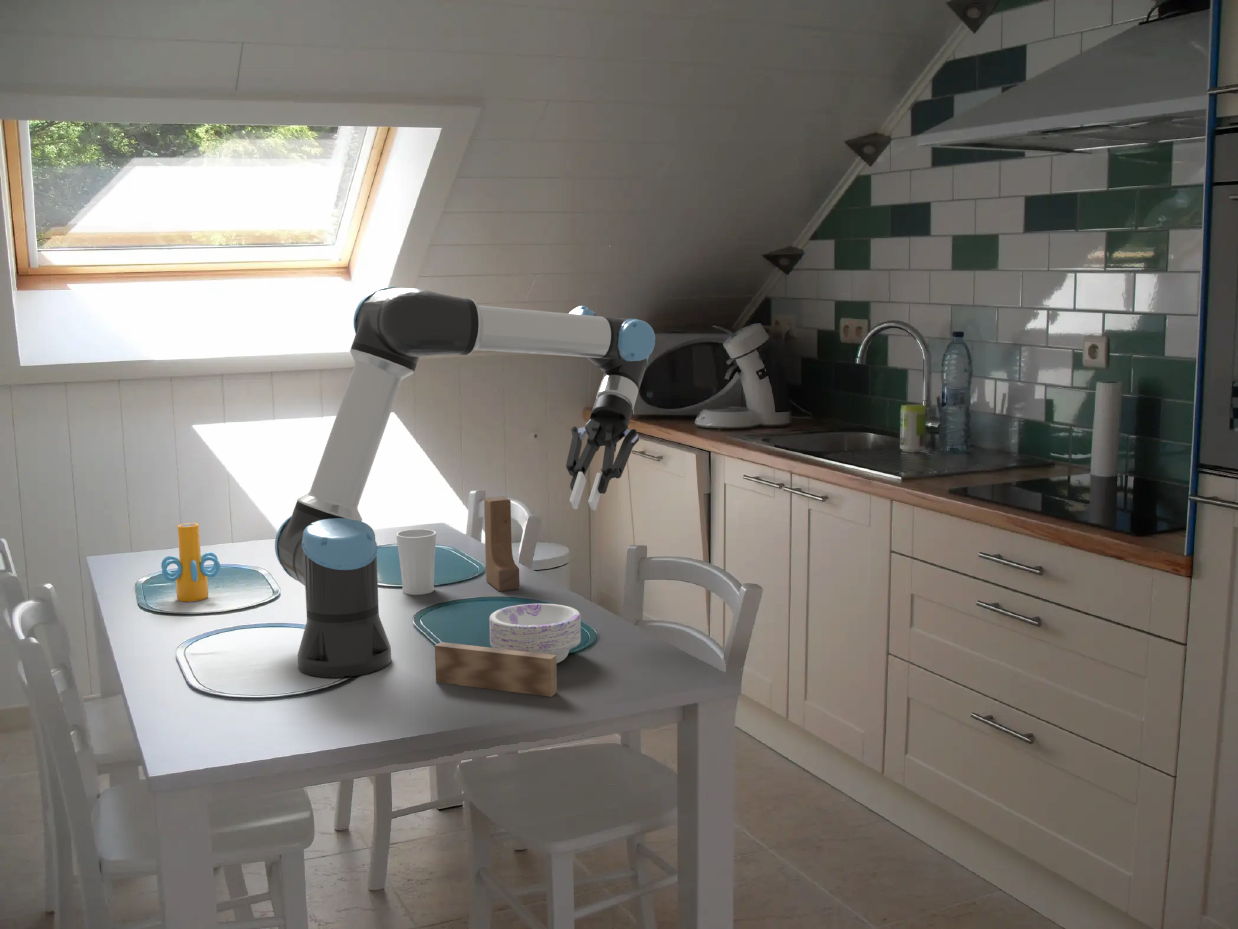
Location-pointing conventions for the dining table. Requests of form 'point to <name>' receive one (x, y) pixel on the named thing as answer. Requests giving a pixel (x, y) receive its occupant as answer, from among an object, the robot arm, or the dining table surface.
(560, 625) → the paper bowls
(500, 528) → the wooden block
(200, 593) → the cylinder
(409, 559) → the cup
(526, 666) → the rail
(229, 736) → the dining table surface
